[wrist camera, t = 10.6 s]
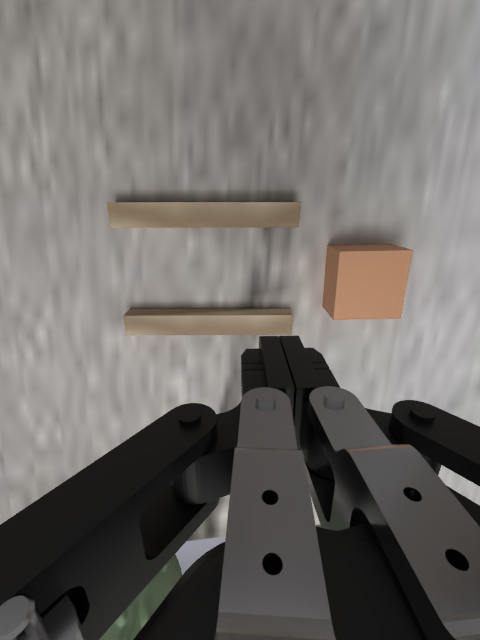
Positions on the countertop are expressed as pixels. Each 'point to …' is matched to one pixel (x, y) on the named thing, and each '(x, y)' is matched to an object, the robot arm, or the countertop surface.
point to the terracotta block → (366, 281)
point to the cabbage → (145, 603)
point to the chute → (206, 216)
